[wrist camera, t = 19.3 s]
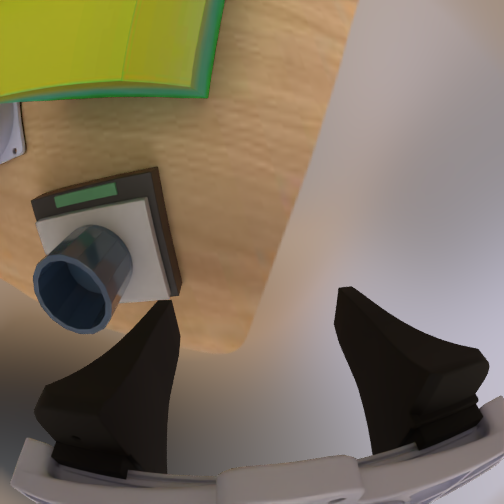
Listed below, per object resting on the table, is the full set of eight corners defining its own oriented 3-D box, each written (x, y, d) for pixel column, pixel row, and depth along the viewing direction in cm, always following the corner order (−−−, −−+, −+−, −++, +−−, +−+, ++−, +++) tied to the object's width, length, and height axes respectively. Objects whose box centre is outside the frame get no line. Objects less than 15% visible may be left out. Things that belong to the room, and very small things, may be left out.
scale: (75, 292, 23) (63, 310, 20) (42, 193, 19) (24, 204, 16) (182, 283, 23) (177, 302, 20) (157, 166, 19) (147, 174, 16)
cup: (65, 282, 19) (38, 318, 15) (66, 216, 17) (30, 244, 13) (129, 302, 20) (111, 344, 16) (137, 234, 18) (113, 269, 14)
